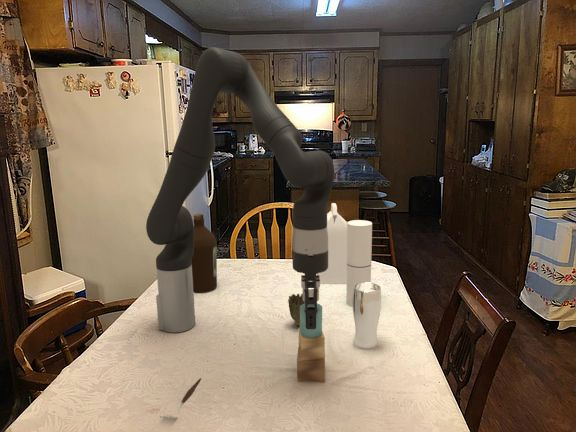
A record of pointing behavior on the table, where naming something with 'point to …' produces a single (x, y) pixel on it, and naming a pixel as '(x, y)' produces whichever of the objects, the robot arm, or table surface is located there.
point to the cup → (295, 307)
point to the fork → (183, 400)
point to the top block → (312, 347)
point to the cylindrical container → (358, 255)
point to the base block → (310, 370)
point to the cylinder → (318, 331)
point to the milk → (336, 249)
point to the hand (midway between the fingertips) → (310, 321)
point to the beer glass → (366, 314)
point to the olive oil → (204, 257)
